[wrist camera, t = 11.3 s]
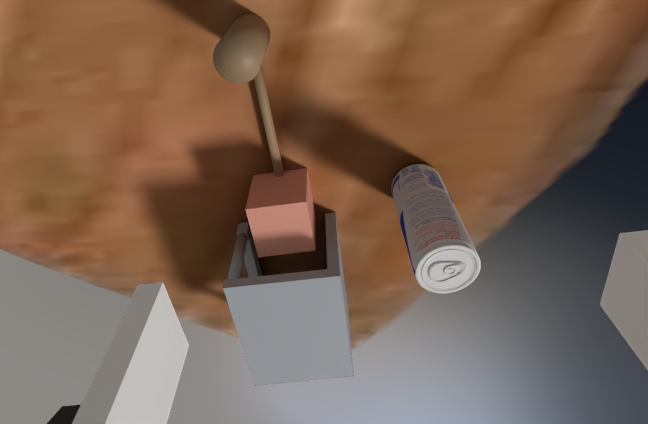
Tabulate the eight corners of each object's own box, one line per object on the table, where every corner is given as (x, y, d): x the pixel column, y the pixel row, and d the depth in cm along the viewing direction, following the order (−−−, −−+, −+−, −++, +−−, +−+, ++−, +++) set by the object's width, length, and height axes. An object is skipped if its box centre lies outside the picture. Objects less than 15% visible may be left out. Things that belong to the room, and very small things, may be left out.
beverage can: (380, 187, 52) (401, 275, 39) (415, 152, 50) (450, 233, 37) (415, 213, 54) (446, 305, 41) (451, 180, 52) (495, 266, 39)
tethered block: (213, 18, 42) (191, 41, 34) (278, 8, 42) (271, 29, 34) (264, 219, 54) (256, 269, 46) (315, 213, 54) (315, 262, 46)
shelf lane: (238, 223, 54) (223, 288, 45) (335, 212, 54) (340, 275, 44) (263, 314, 62) (254, 386, 53) (347, 306, 62) (353, 376, 52)
